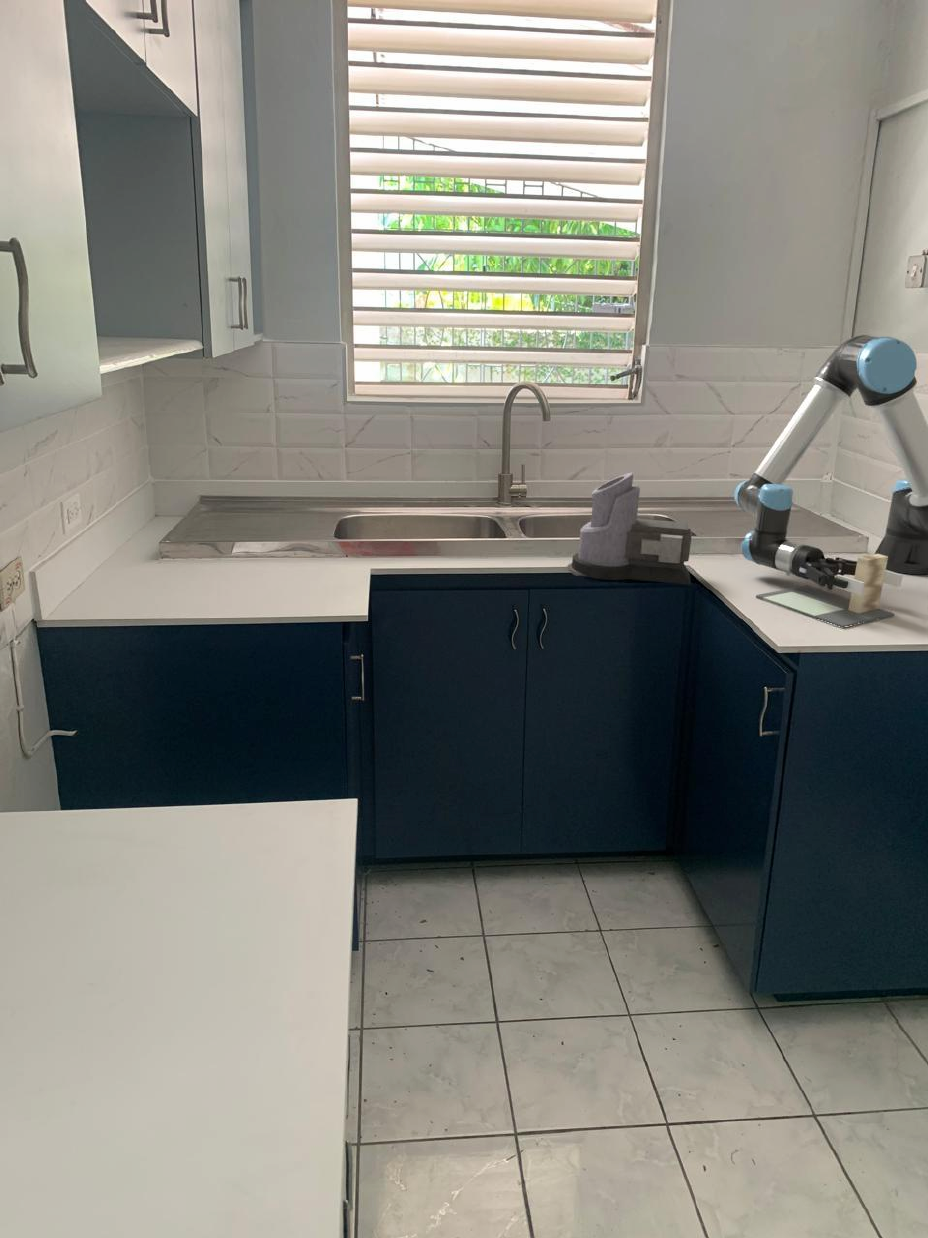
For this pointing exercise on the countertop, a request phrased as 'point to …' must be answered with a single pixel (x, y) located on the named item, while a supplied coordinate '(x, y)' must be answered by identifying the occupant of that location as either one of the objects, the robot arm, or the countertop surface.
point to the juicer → (630, 540)
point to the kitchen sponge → (869, 582)
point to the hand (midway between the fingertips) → (882, 584)
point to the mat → (821, 605)
